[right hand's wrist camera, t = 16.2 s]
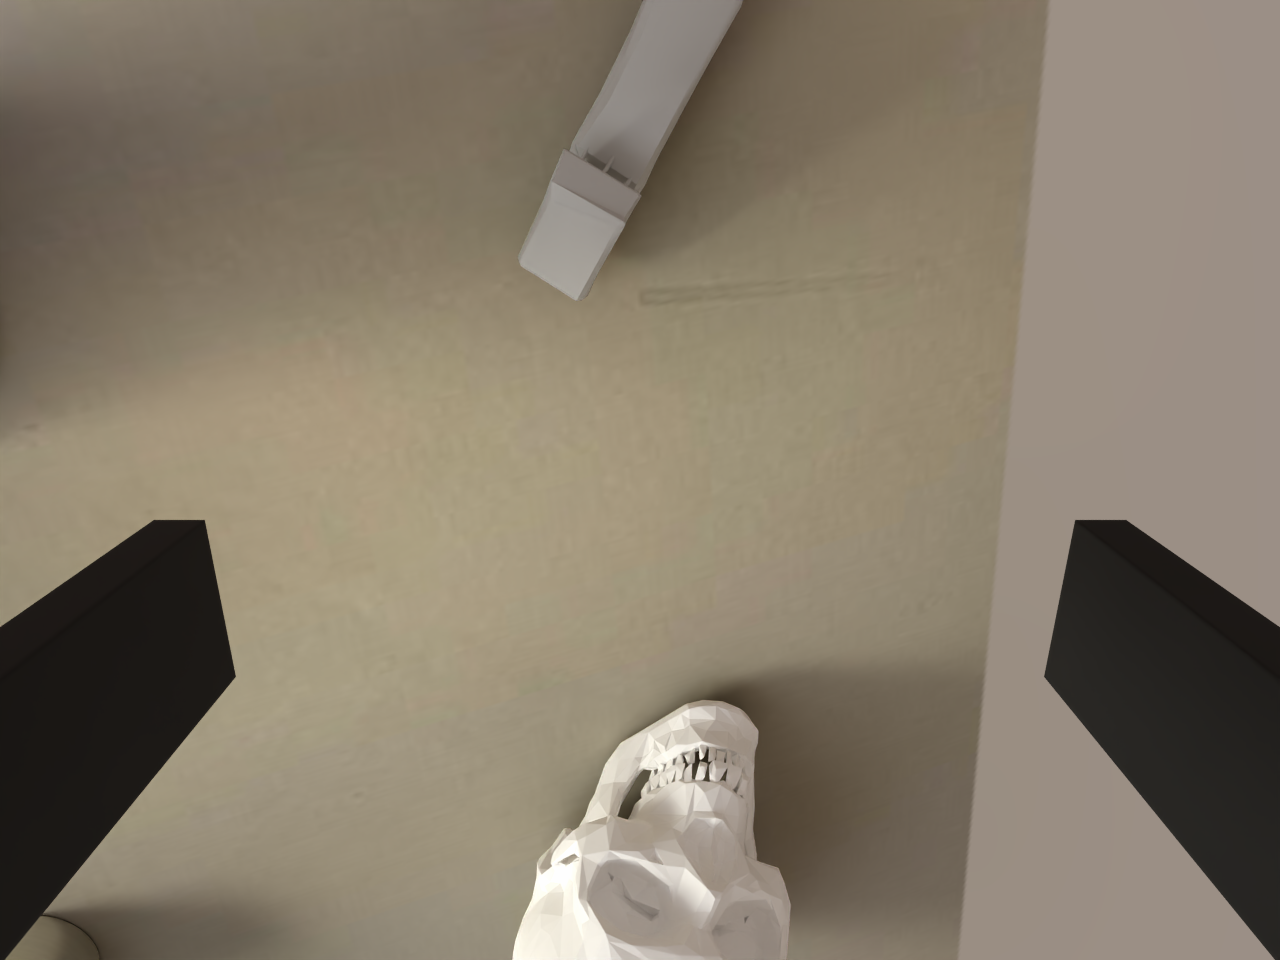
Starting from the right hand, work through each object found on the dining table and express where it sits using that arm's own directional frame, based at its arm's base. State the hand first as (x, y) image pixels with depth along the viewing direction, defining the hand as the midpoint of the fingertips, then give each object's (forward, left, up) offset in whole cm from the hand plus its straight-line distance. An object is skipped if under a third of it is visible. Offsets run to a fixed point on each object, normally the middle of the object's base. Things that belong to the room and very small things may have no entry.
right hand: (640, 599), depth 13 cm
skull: (-28, -16, -30) cm, 44 cm away
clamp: (+9, +4, -30) cm, 31 cm away
